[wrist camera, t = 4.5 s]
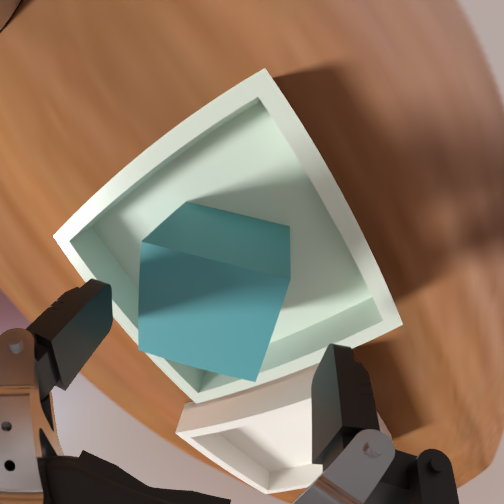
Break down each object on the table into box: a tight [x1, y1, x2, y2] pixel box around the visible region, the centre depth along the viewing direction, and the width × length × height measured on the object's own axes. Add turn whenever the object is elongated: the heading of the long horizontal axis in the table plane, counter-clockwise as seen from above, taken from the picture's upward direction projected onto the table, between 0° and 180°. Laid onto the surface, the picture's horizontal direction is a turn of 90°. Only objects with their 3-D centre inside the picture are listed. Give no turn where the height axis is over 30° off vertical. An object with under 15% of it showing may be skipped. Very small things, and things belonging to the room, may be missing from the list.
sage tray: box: [53, 68, 403, 404], centre depth 15 cm, size 13×13×3 cm
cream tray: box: [175, 362, 392, 494], centre depth 20 cm, size 13×13×3 cm
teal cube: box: [138, 202, 291, 382], centre depth 13 cm, size 5×5×5 cm
